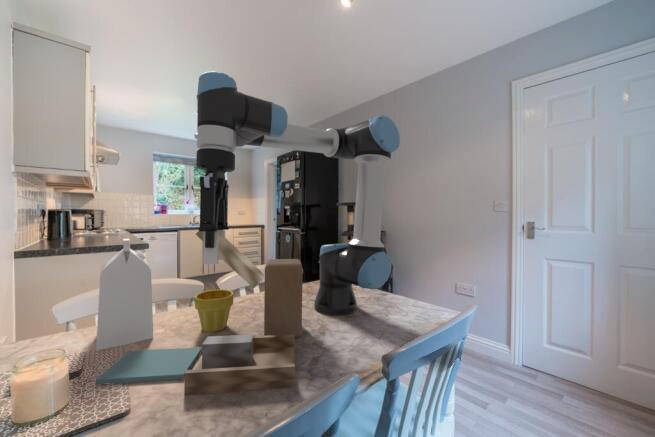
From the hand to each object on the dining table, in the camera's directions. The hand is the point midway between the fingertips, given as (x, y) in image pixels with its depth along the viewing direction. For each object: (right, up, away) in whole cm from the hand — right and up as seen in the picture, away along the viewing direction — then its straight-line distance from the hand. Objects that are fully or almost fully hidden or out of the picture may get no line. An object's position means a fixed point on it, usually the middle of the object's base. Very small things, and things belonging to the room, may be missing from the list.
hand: (214, 261), depth 56 cm
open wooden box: (+7, -23, +1) cm, 24 cm away
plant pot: (-9, -23, +22) cm, 33 cm away
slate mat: (-14, -23, +1) cm, 27 cm away
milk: (-31, -23, +16) cm, 41 cm away
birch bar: (+3, 0, 0) cm, 3 cm away
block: (+11, -23, +19) cm, 32 cm away
